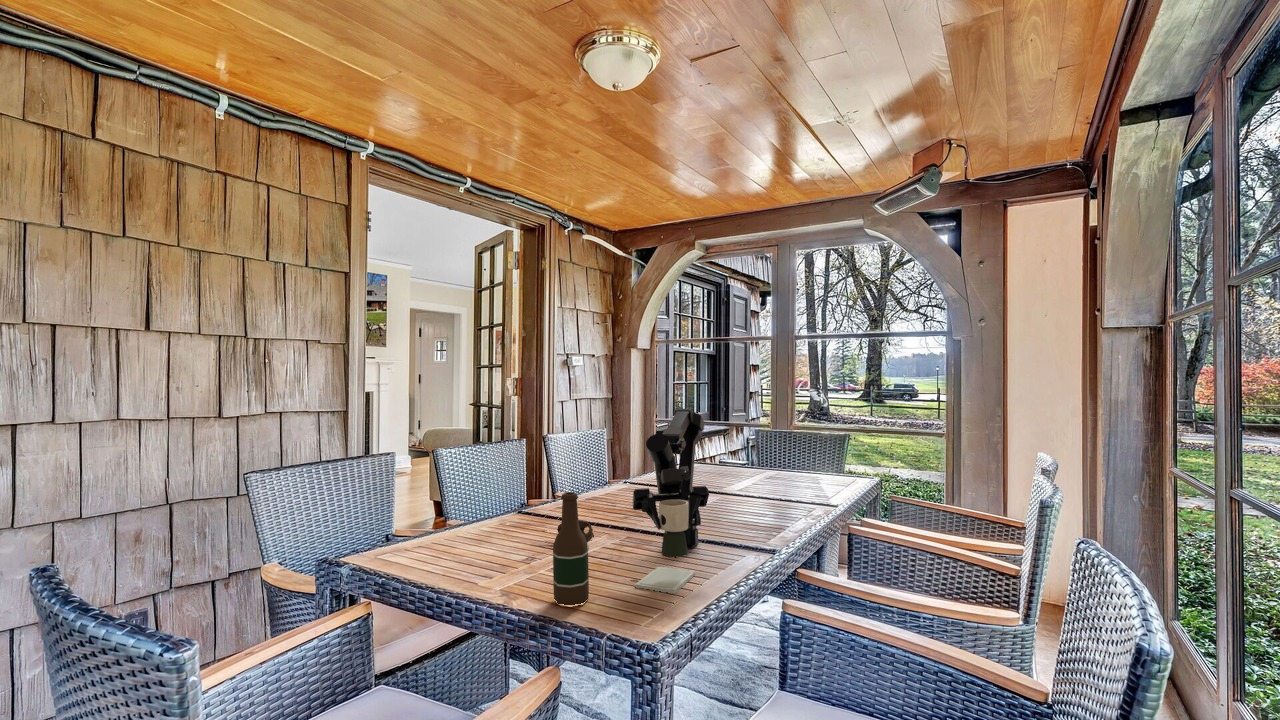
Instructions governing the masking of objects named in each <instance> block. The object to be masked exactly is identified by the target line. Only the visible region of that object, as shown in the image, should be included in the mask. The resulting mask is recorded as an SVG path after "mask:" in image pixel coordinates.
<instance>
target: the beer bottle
mask: <svg viewBox="0 0 1280 720" xmlns="http://www.w3.org/2000/svg"><path fill="white" fill-rule="evenodd" d="M560 499H561V500H562V504H561V506H562V507H561V523H560V524H561V529H560V531H559V533H558V532H557V535H556V537H555V538H554V541H553V548H552V564H553V565H552V567H553V569H552V571H553V573H552V574H553V577H552V578H553V600H554V599H555V600H556V601H557V603H558V604H564V605H575V604H581V603H584V602H585V601H586V600H587V599H588V600H589V594H590V593H589V592H590V589H589V588H590V585H589V583H590V581H589V545H588V541H586V538H585V536H584V534H583V533H582V531H581V530H580V527H579V521H578V520H579V511H578V499H579V495H578V493H576V492H574V491H573V492H572V491H567V492H564V493H562V494H561V497H560Z"/></svg>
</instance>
